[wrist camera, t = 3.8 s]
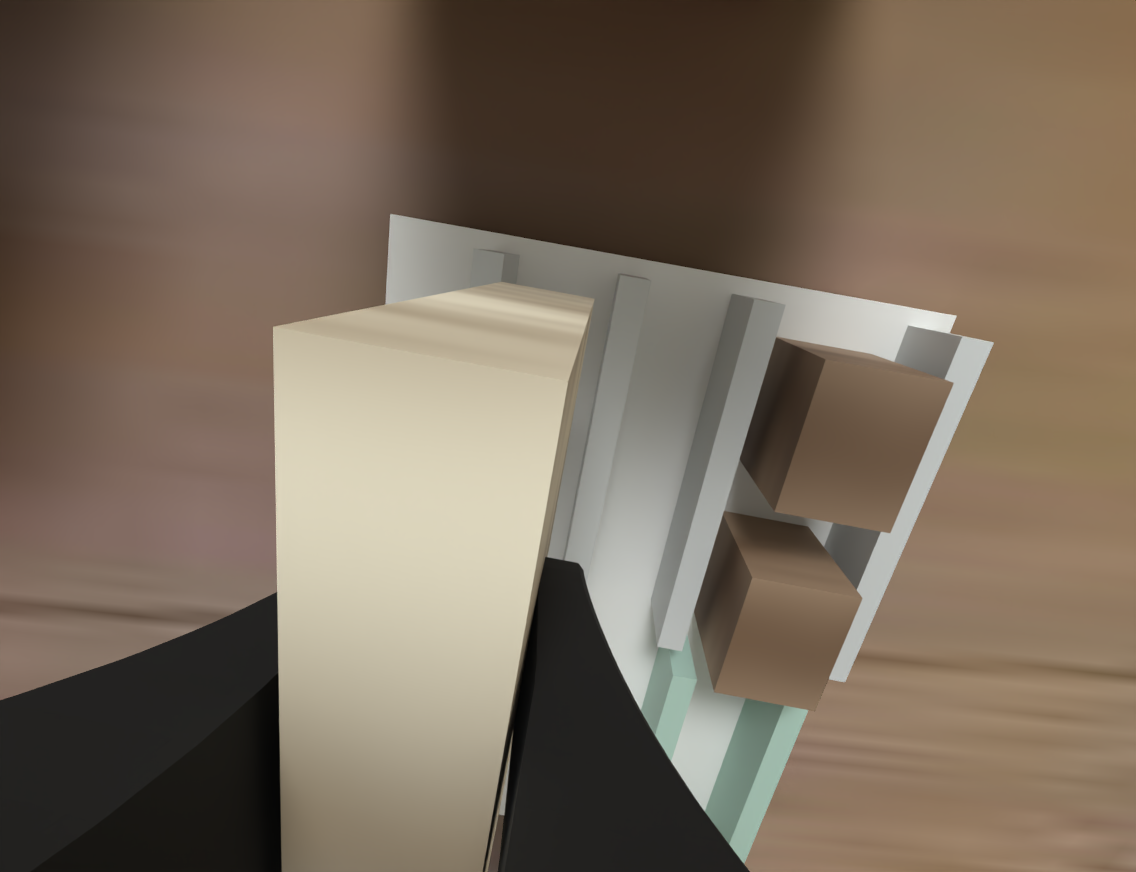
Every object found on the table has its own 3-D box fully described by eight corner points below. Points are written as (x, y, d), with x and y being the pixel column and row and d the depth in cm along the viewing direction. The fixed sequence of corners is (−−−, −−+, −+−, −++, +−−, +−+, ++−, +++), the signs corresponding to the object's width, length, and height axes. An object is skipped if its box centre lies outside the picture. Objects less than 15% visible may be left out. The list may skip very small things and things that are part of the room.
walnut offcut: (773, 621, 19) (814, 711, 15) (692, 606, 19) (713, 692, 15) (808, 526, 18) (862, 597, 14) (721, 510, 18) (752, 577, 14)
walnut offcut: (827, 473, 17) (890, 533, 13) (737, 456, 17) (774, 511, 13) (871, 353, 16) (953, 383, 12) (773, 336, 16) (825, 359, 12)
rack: (729, 836, 24) (749, 928, 21) (369, 766, 24) (331, 846, 21) (936, 312, 16) (1020, 326, 13) (402, 216, 16) (351, 205, 13)
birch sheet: (527, 669, 14) (437, 1131, 7) (455, 656, 14) (285, 1100, 7) (594, 298, 11) (568, 381, 3) (501, 281, 11) (273, 326, 3)
